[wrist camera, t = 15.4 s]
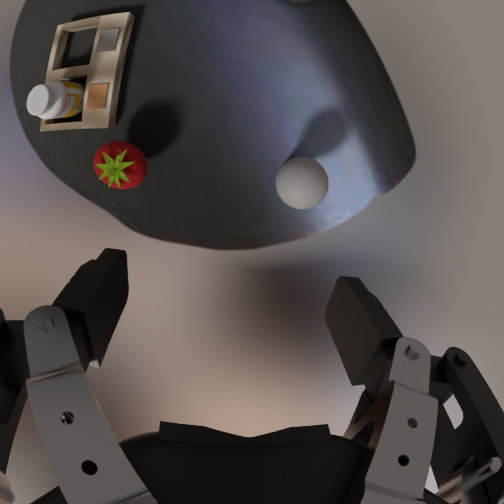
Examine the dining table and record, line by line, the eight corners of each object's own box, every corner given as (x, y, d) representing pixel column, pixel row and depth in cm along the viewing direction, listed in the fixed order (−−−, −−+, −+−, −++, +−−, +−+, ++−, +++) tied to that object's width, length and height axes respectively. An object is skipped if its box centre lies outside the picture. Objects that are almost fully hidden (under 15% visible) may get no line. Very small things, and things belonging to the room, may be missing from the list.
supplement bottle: (57, 92, 28) (20, 92, 20) (85, 77, 28) (49, 71, 19) (64, 122, 31) (26, 128, 22) (91, 108, 31) (56, 109, 22)
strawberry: (120, 130, 33) (88, 135, 24) (164, 150, 35) (144, 161, 26) (105, 166, 35) (72, 183, 26) (147, 186, 37) (124, 208, 28)
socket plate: (65, 28, 23) (56, 25, 20) (135, 17, 25) (129, 11, 22) (49, 130, 31) (39, 131, 28) (115, 127, 32) (107, 128, 30)
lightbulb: (285, 140, 36) (306, 149, 26) (317, 167, 38) (346, 186, 28) (257, 173, 38) (268, 194, 28) (290, 198, 40) (310, 227, 30)
